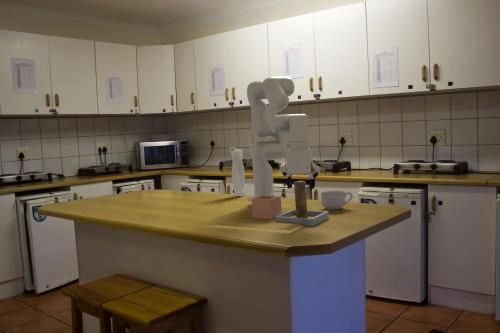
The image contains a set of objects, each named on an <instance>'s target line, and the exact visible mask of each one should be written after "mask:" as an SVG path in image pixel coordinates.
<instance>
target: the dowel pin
mask: <svg viewBox="0 0 500 333" xmlns="http://www.w3.org/2000/svg"><path fill="white" fill-rule="evenodd" d="M293 187H294V203H295V210H296V215H295V217H297V218H309V217H308V216H309V215H308V213H307V210H308V204H307V203H308V201H307V187H306V181H305V180H297V181H294V182H293Z"/></svg>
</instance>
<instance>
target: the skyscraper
mask: <svg viewBox="0 0 500 333" xmlns="http://www.w3.org/2000/svg"><path fill="white" fill-rule="evenodd" d="M232 149H234V150H232ZM229 151H230V155H231V159H232V164H231V180H232V186H233V187H232V188H233V192H234V193H233V197H236V196H241V197H245V196H246V194H245V193H244V189H245V183H246V182H245V181H246V180H245V178H246V177H245V176H246V175H245V166H244V161H243V158H244V157H243V156H244V149H243V148H242V149H241V148H236V147H234V146H230V147H229ZM236 198H237V197H236Z"/></svg>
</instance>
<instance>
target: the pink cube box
mask: <svg viewBox="0 0 500 333" xmlns="http://www.w3.org/2000/svg"><path fill="white" fill-rule="evenodd" d="M282 212H283V211H282V196H281V195H274V196H259V197H256V198H252V201H251V215H252V219H262V220H275V217H276V216H278V215H281V214H283V213H282Z"/></svg>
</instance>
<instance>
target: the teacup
mask: <svg viewBox="0 0 500 333" xmlns="http://www.w3.org/2000/svg"><path fill="white" fill-rule="evenodd" d="M347 195H350V196H349V199H348V200H346V198H347ZM320 196H321V197H320V198H321V205H322V206H323V208H325V210H340V209H342V208H344V206H346V205H347V204H348V203H349V202H351V201H352V199H353V198H354V196H353V193H352V192H350V191H344V190H328V191H327V190H326V191H321V192H320Z"/></svg>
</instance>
